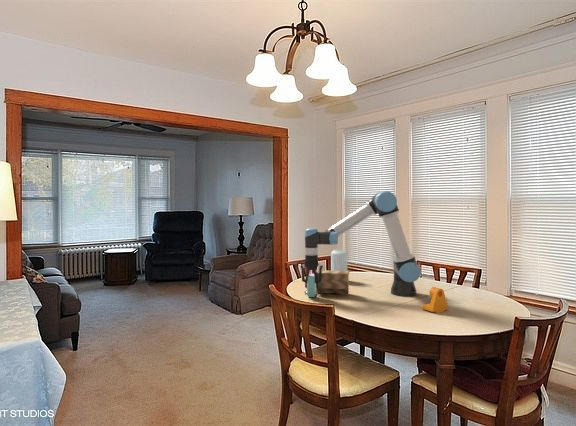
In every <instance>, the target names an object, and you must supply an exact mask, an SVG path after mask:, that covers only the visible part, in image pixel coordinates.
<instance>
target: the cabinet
mask: <svg viewBox="0 0 576 426" xmlns="http://www.w3.org/2000/svg"><path fill="white" fill-rule="evenodd" d="M316 272H317V276H318V280H319V269H316ZM349 276H350V271H349V270H347V271H331V270H327V269H326V270H325V269H324V270H323V269H322V281H321V282H319V283H318V288H317V294H323V293H338V294H337V295H344V294H348V293H349V289H350V288H349V285H350V284H349V282H350V281H349ZM348 295H349V294H348Z"/></svg>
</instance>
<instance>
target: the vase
mask: <svg viewBox="0 0 576 426" xmlns="http://www.w3.org/2000/svg"><path fill="white" fill-rule="evenodd" d="M330 271H348V252H347V251H346V250H344V249H333V250H331V253H330Z"/></svg>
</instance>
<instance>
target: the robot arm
mask: <svg viewBox="0 0 576 426" xmlns="http://www.w3.org/2000/svg"><path fill="white" fill-rule="evenodd" d="M397 203H398V201H397V196H396V195H395V194H394V193H393V192H391V191H389V190H383V191H379V192H377V193H376V194H375V195H374V196H373V197H371V198H370V199H369V200H367V201H366V202H365V204H364V205H363V206H361V207H359V208H358V209H356V210H355V211H354V212H352V213H350V214H349V215H348V216H346V217H344V218H343V219H341V220H340V221H338V222H337V223H335V224H334V225H331V227H329V228H327V229H325V230H324V231H318V230H319V229H318V228H311V227H310V228H306V229H305V230H304V253H305V256H304V260H305V261H304V264H300V269H301V282H303V283H304V285H305V286H304V287H305V289H306V291H307V294H308V276H309V275H310V272H311V271H313V274H314V276H315V280H316V282H315V294H316V295H317V294H318V293H317V288H318V283H319V282H321V281H322V270H323V266H324V265H323V264H320V263H319V255H318V254H319V253H318V251H319V250H318V249H319V246H318V245H323V246H324V245H331V246H332V245H338V244H339V243H338V242H339V237H340V236H342V235H343V234H345V233H346V232H349V230H351V229H353V228H354V227H356V226H357V225H358V224H361V223H362V222H363V221H365V220H367V219H368V218H369V217H371V216H373V215H374V216H376V215H377V214H378V216H379V217H378V218H381V219H382V220H383V224H384V226H385V229H386V232H387V236H388V239H389V242H390V245H391V248H392V250H393V253H394V257H393V282H392V285H391V286H390V293H391V294H392V295H395V296H400V297H412V296H413V297H414V296H416V295H417V288H416V285H415V282H416V281H417V280H418V279H419V278H420V277H421V273H422V271H421V267H420V265H418V263H417V261H416V257H415V255H414V254H412V253H411V251H410V248H409V244H408V241H407V239H406V237H405V233H404V230H403V228H402V224H401V221H400V218H399V215H398V213H399V212H400V210H399V207H398V204H397ZM305 268H306V275H305ZM317 268H318V270H319V280H318V276H317V272H316V270H317Z"/></svg>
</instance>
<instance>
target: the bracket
mask: <svg viewBox="0 0 576 426" xmlns="http://www.w3.org/2000/svg"><path fill="white" fill-rule="evenodd" d="M429 296H430V297H431V299H430V303H425V304H422V310H426V311H429V312H431V313H436V314H438V313H442V312H445V310H448V303H447V297H446V295H445V290H444V289H443V288H439V287H435V286H432V287H431V288H430V289H429Z"/></svg>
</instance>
